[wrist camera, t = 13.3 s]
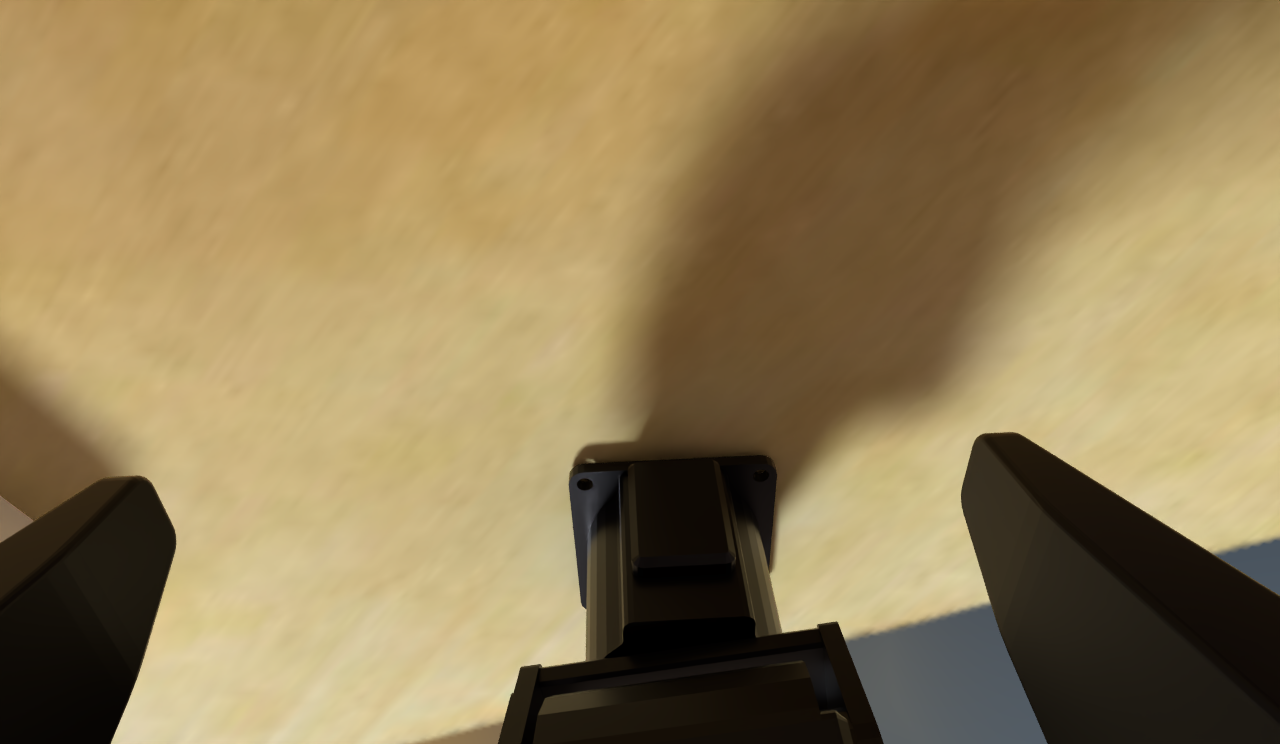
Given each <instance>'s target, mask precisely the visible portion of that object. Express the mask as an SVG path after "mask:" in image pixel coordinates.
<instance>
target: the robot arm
mask: <svg viewBox="0 0 1280 744" xmlns="http://www.w3.org/2000/svg"><path fill="white" fill-rule="evenodd" d="M757 470H765V471H764V472H763V473H755V472H756V471H757ZM583 478H586V479H590V481H588V482H582V481H580V479H583ZM776 480H777V473H776V468H775V464H774V462H773V460H772V459H771V458H769V457H767V456H763V455H754V456H734V457H713V458H693V459H673V460H653V461H632V462H612V463H592V464H581V465H577V466H576V467H574V468H573V469H572V470H571V471H570V475H569V492H570V501H571V511H572V520H573V530H574V539H575V549H576V558H577V568H578V577H579V587H580V596H581V603H582V606H583V607H584V608H585V609H587V611H586V661H583V662H576V663H569V664H562V665H556V666H549V667H542V666H541V664H538V665H531V666H524V667H521V668H520V671H519V675H518V679H517V683H516V686H515V690H514V693H512V694H511V697H510V700H509V704H508V708H507V712H506V715H505V719H504V723H503V727H502V730H501V734H500V738H499V742H498V744H884V743H883V740H882V737H881V734H880V731H879V728H878V725H877V723H876V720H875V718H874V715H873V712H872V710H871V707H870V705H869V702H868V699H867V697H866V694H865V692H864V689H863V687H862V684H861V681H860V679H859V676H858V674H857V671H856V668H855V666H854V663H853V661H852V658H851V655H850V653H849V651H848V648H847V645H846V642H845V640H844V637H843V635H842V632H841V630H840V627H839V624H838V622H831V623H824V624H817V628H814V629H807V630H800V631H793V632H786V633H782V629H781V625H780V620H779V616H778V611H777V607H776V602H775V597H774V593H773V588H772V584H771V579H770V575H769V561H770V549H771V538H772V526H773V515H774V503H775V492H776ZM961 503H962V509H963V513H964V516H965V520H966V523H967V526H968V530H969V533H970V536H971V539H972V543H973V546H974V549H975V553H976V556H977V559H978V563H979V566H980V569H981V573H982V576H983V579H984V582H985V586H986V589H987V592H988V596H989V599H990V602H991V606H992V609H993V612H994V615H995V618H996V621H997V624H998V627H999V630H1000V633H1001V636H1002V638H1003V641H1004V643H1005V646H1006V648H1007V651H1008V653H1009V656H1010V658H1011V660H1012V662H1013V665H1014V667H1015V669H1016V672H1017V674H1018V676H1019V679H1020V681H1021V683H1022V686H1023V688H1024V690H1025V693H1026V695H1027V697H1028V699H1029V702H1030V704H1031V706H1032V709H1033V711H1034V713H1035V716H1036V718H1037V720H1038V723H1039V725H1040V727H1041V729H1042V732H1043V734H1044V736H1045V739H1046V741H1047V743H1048V744H1280V595H1278V594H1276V593H1275V592H1273V591H1271V590H1270V589H1268V588H1267V587H1265V586H1263V585H1262V584H1260V583H1259V582H1257V581H1255V580H1253V579H1252V578H1250V577H1249V576H1247V575H1246V574H1244V573H1243V572H1241V571H1239V570H1238V569H1236V568H1235V567H1233V566H1231V565H1230V564H1228V563H1226V562H1225V561H1223V560H1222V559H1220V558H1218V557H1217V556H1215V555H1214V554H1212V553H1210V552H1209V551H1207V550H1206V549H1204V548H1202V547H1201V546H1199V545H1198V544H1196V543H1194V542H1193V541H1191V540H1190V539H1188V538H1186V537H1185V536H1183V535H1182V534H1180V533H1178V532H1177V531H1175V530H1174V529H1172V528H1170V527H1169V526H1167V525H1165V524H1164V523H1162V522H1161V521H1159V520H1157V519H1156V518H1154V517H1153V516H1151V515H1149V514H1148V513H1146V512H1145V511H1143V510H1141V509H1140V508H1138V507H1137V506H1135V505H1133V504H1132V503H1130V502H1129V501H1127V500H1125V499H1124V498H1122V497H1121V496H1119V495H1117V494H1116V493H1114V492H1113V491H1111V490H1109V489H1108V488H1106V487H1104V486H1103V485H1101V484H1100V483H1098V482H1096V481H1095V480H1093V479H1092V478H1090V477H1088V476H1087V475H1085V474H1084V473H1082V472H1080V471H1079V470H1077V469H1076V468H1074V467H1072V466H1071V465H1069V464H1068V463H1066V462H1064V461H1063V460H1061V459H1060V458H1058V457H1056V456H1055V455H1053V454H1051V453H1050V452H1048V451H1047V450H1045V449H1043V448H1042V447H1040V446H1039V445H1037V444H1035V443H1034V442H1032V441H1031V440H1029V439H1027V438H1026V437H1024V436H1022V435H1020V434H1018V433H1014V432H1004V433H985V434H982V435H980V436H978V437H977V438H976V440H975V442H974V444H973V447H972V451H971V455H970V459H969V462H968V466H967V470H966V474H965V478H964V482H963V486H962V491H961ZM175 549H176V534H175V530H174V527H173V525H172V523H171V521H170V519H169V517H168V515H167V513H166V511H165V508H164V506H163V504H162V502H161V500H160V498H159V496H158V494H157V492H156V490H155V488H154V486H153V485H152V483H151V482H150V481H149V480H148V479H147V478H145V477H142V476H118V477H107V478H103V479H100V480H99V481H97V482H95V483H94V484H92V485H91V486H89V487H87V488H86V489H84V490H83V491H81V492H79V493H78V494H76V495H75V496H73V497H72V498H70V499H68V500H67V501H65V502H64V503H62V504H61V505H59V506H57V507H56V508H54V509H53V510H51V511H49V512H48V513H46V514H45V515H43V516H42V517H40V518H38V519H37V520H35V521H34V522H32V523H31V524H29V525H27V526H26V527H24V528H23V529H21V530H19V531H18V532H16V533H15V534H13V535H12V536H10V537H8V538H7V539H5V540H4V541H2V542H1V543H0V744H111V741H112V739H113V737H114V734H115V732H116V729H117V727H118V725H119V722H120V720H121V717H122V715H123V713H124V710H125V708H126V705H127V703H128V701H129V698H130V695H131V693H132V690H133V688H134V685H135V682H136V680H137V677H138V674H139V671H140V668H141V665H142V662H143V659H144V656H145V652H146V649H147V646H148V642H149V639H150V635H151V632H152V629H153V625H154V622H155V618H156V615H157V612H158V608H159V605H160V601H161V598H162V595H163V591H164V588H165V584H166V581H167V578H168V574H169V571H170V567H171V564H172V561H173V557H174V554H175Z"/></svg>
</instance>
